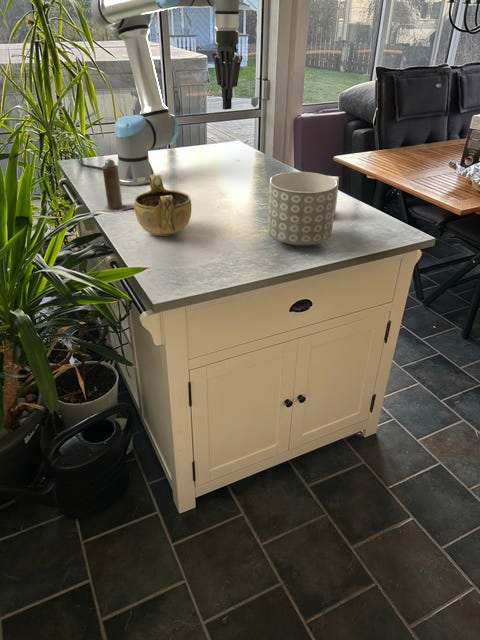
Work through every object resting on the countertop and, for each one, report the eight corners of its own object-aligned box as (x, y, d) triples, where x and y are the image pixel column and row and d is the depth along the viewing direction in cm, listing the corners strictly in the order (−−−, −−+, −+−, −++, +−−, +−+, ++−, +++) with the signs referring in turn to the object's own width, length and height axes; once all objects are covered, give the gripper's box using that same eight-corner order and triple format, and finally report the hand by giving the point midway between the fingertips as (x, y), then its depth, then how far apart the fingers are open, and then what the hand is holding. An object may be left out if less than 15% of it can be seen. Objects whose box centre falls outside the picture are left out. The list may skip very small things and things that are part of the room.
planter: (272, 226, 161) (274, 169, 151) (332, 231, 158) (338, 174, 148) (262, 251, 145) (264, 189, 136) (328, 257, 142) (335, 194, 133)
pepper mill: (105, 207, 175) (98, 159, 166) (117, 203, 177) (112, 156, 169) (112, 210, 171) (106, 162, 163) (125, 207, 174) (119, 159, 165)
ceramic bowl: (133, 221, 163) (128, 175, 155) (184, 216, 167) (182, 171, 159) (142, 249, 145) (137, 199, 137) (199, 243, 150) (198, 193, 141)
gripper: (249, 30, 159) (248, 110, 171) (222, 28, 167) (223, 105, 179) (231, 31, 154) (231, 113, 167) (204, 29, 162) (206, 107, 175)
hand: (227, 108), depth 173 cm, fingers closed
